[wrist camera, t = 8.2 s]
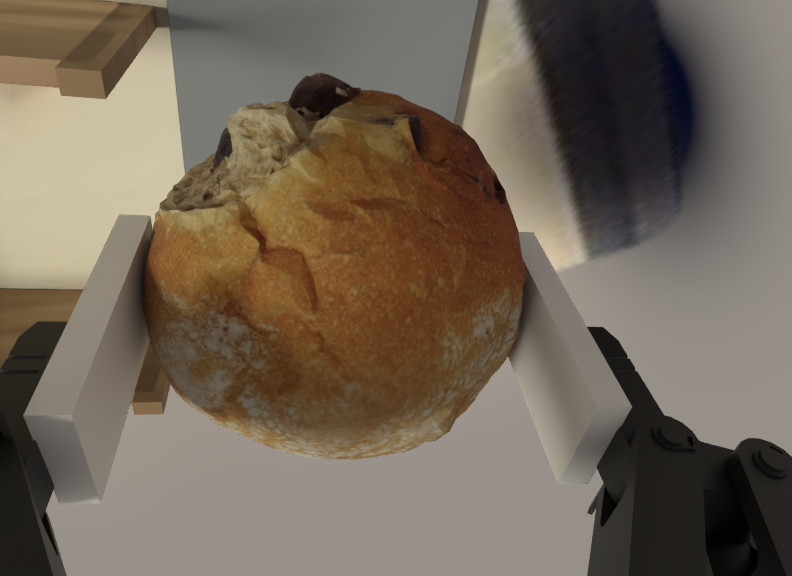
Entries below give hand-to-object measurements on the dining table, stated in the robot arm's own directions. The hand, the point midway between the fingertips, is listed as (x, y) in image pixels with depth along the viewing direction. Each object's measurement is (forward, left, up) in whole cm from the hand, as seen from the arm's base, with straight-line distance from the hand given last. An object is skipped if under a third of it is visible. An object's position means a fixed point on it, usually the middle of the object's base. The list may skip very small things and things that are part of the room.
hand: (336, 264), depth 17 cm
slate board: (0, 0, -12) cm, 12 cm away
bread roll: (0, 0, -1) cm, 1 cm away
